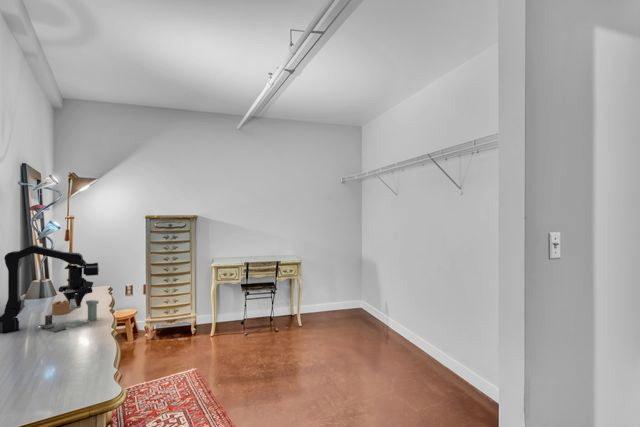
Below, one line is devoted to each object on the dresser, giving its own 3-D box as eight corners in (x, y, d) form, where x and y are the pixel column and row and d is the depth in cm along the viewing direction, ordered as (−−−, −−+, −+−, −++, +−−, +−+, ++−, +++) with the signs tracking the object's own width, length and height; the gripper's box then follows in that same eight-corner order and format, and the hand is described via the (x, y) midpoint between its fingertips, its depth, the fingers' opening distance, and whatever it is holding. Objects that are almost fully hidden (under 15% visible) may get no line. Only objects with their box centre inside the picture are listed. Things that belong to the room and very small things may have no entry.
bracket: (66, 315, 197) (66, 303, 197) (49, 316, 194) (49, 304, 194) (77, 307, 214) (77, 296, 214) (61, 308, 211) (61, 297, 211)
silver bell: (73, 309, 176) (73, 298, 176) (67, 308, 178) (67, 297, 178) (83, 307, 181) (83, 296, 181) (77, 306, 183) (77, 295, 183)
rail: (55, 333, 166) (55, 328, 166) (38, 329, 171) (38, 325, 171) (66, 329, 171) (66, 325, 171) (49, 326, 176) (49, 322, 176)
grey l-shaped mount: (72, 327, 174) (72, 307, 174) (62, 325, 177) (62, 306, 177) (99, 319, 188) (99, 300, 188) (90, 318, 191) (90, 299, 191)
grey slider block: (38, 330, 166) (38, 319, 166) (33, 329, 167) (33, 318, 167) (55, 325, 173) (55, 314, 173) (50, 325, 175) (50, 314, 175)
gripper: (102, 275, 184) (101, 303, 184) (79, 273, 190) (79, 300, 190) (81, 278, 173) (81, 309, 173) (58, 276, 180) (57, 305, 180)
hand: (75, 305), depth 179 cm, fingers closed on silver bell, 5 cm apart
